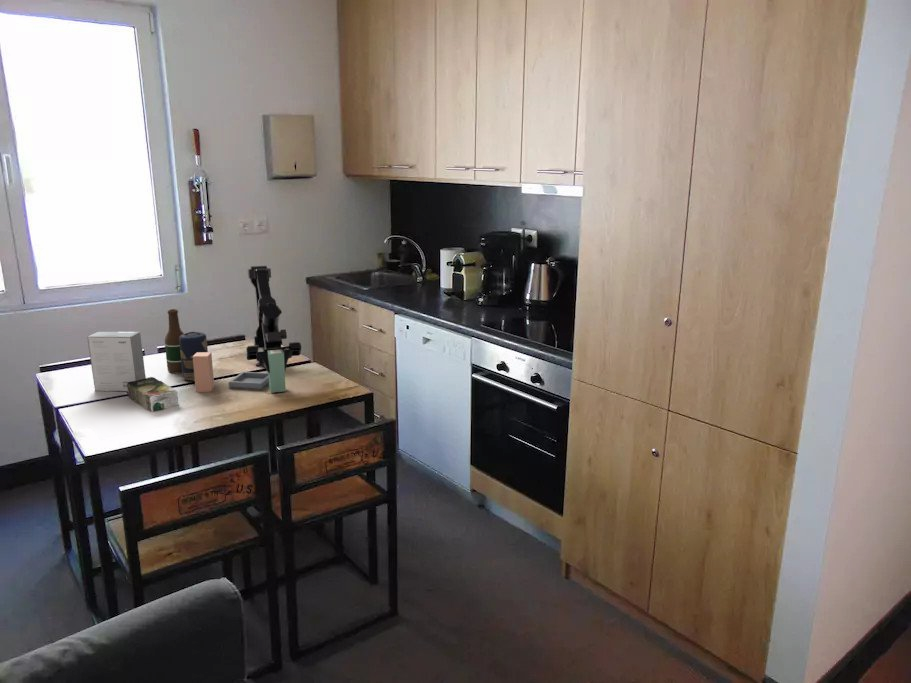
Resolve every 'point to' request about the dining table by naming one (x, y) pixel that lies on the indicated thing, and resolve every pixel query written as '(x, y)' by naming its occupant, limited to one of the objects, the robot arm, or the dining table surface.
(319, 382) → the dining table surface
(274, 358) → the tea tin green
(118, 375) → the hard drive box
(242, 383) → the tray
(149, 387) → the juice carton
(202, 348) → the canister
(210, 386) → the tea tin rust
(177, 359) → the beer bottle
